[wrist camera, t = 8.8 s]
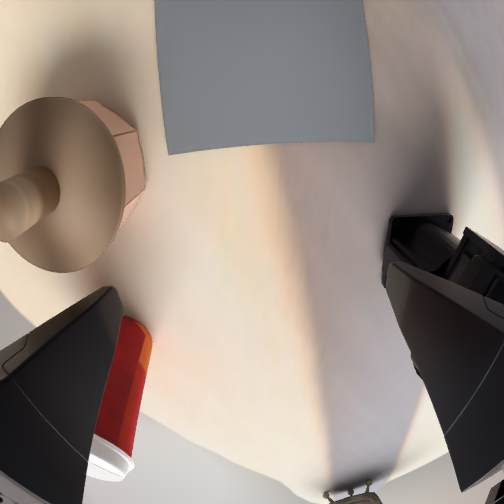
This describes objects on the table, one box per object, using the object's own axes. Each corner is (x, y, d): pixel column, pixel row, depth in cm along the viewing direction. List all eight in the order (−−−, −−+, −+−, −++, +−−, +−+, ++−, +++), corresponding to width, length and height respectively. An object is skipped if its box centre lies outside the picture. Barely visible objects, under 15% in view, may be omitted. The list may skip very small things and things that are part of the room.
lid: (110, 72, 12) (63, 62, 8) (144, 259, 17) (117, 307, 13) (-17, 129, 12) (-65, 143, 8) (20, 271, 17) (-15, 307, 13)
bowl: (134, 90, 17) (103, 85, 12) (155, 224, 21) (134, 255, 17) (28, 126, 17) (-12, 135, 12) (53, 238, 21) (21, 266, 17)
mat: (352, -30, 13) (355, -33, 12) (370, 140, 19) (374, 141, 18) (156, -23, 13) (154, -26, 12) (170, 153, 19) (168, 155, 18)
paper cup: (77, 318, 25) (14, 430, 13) (132, 295, 24) (70, 434, 11) (122, 370, 28) (87, 481, 16) (178, 355, 27) (154, 487, 15)
